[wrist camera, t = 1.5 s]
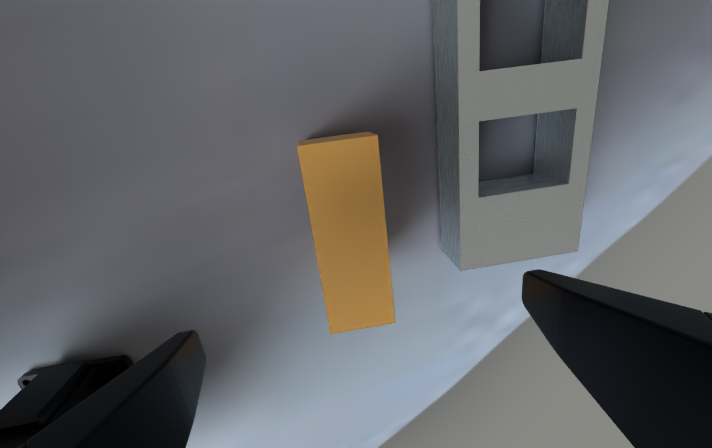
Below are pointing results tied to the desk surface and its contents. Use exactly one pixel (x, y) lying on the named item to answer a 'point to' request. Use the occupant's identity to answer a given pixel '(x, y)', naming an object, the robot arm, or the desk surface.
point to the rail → (510, 99)
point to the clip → (349, 228)
